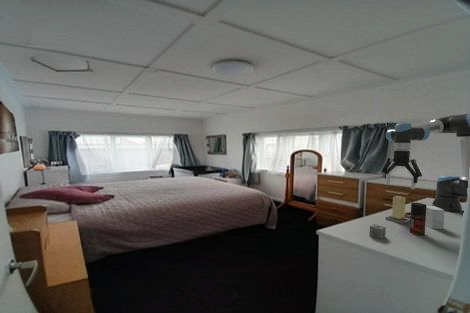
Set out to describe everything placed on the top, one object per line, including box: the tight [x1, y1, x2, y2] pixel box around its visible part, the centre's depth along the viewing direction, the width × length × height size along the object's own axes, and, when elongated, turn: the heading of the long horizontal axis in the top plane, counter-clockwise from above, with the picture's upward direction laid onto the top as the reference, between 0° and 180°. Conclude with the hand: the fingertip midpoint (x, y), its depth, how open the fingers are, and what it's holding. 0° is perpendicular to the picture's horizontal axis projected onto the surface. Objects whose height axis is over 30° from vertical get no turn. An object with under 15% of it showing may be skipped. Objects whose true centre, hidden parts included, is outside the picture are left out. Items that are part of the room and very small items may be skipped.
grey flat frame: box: [385, 211, 411, 225], centre depth 133 cm, size 24×9×2 cm, turn 115°
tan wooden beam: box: [391, 195, 407, 221], centre depth 129 cm, size 4×4×14 cm
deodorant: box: [409, 202, 428, 237], centre depth 111 cm, size 6×6×15 cm
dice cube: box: [369, 223, 387, 240], centre depth 107 cm, size 5×5×5 cm
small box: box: [425, 205, 445, 230], centre depth 121 cm, size 8×6×10 cm
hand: (399, 186), depth 129 cm, fingers open, 13 cm apart
